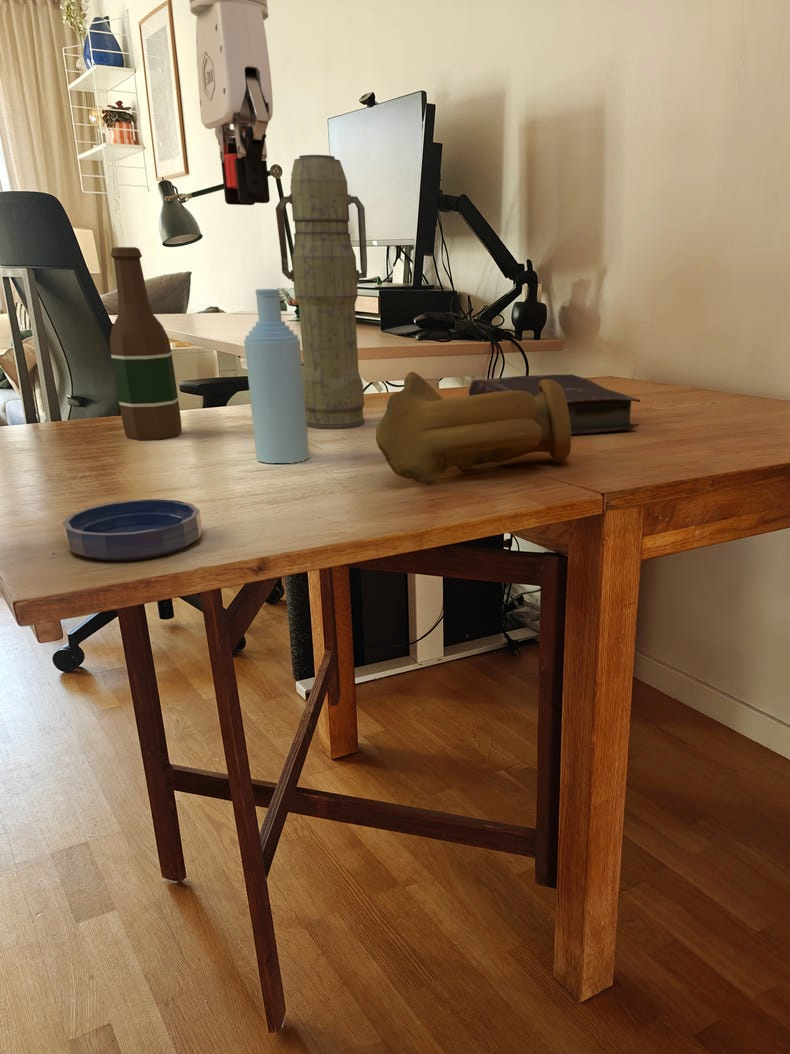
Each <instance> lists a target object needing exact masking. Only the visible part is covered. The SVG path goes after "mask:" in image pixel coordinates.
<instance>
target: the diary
mask: <svg viewBox="0 0 790 1054" xmlns="http://www.w3.org/2000/svg"><path fill="white" fill-rule="evenodd" d="M544 379H548V380H553V381H556V382H557V383H558V384H560V385H561V387H562V388H563V391H564V394H565V397H566V401H567V406H568V411H569V417H570V424H571V435H577V434H578V435H579V434H592V433H593V434H595V433H607V432H617V431H624V430H625V431H626V430H631V429H634V428H636V427H638V426H639V425H640V424H639V422H637V423H635V424H634V423H631V410H632V402H638V403H641V399H639V398H636V397H633V396H630V395H627V394H623V393H621V392H617V391H615V390H612V389H609V388H605V387H604V386H601V385H599V384H598V383H595V382H594V381H592V380H590V379H588V378H585V377H583V376H578V375H575V374H570V373H569V374H568V373H567V374H539V375H538V374H535V375H517V376H507V377H506V376H505V377H496V378H488V379H473V381H472V382H471V384H470V386H469V388H468V396H472V395H478V394H485V393H492V392H502V391H525V392H528V393H530V394H532V395H533V396H534V397H536V396H537V395H538V394H539V382H540V381H541V380H544Z"/></svg>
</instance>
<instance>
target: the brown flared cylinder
mask: <svg viewBox="0 0 790 1054" xmlns="http://www.w3.org/2000/svg"><path fill="white" fill-rule="evenodd" d="M403 383H404V386H403V388H402V389H401V390H400V391H396V392H393V393H391V394H390V396H389V398H388V400H387V403H386V411H385V413H384V415H383V417H382V418H381V420H379V421H380V422H379V423H378V424H377V426H376V428H375V433H376V434H375V441H376V444H377V448H378V449H379V450H380V451H381V453H382V454H383V457H384V458H385V460H386V462H387V463H388V465H389V467H390V469H391V470H392V471H393V473H394V474H395V475H397V476H399V477H401V478H404V479H407V480H410V479H412V480H413V481H414V482H417V483H419V484H423V485H424V484H425V485H427V484H432V483H434V482H436V481H437V480H438V479H439V478H440V476H441V475H442V474H443V473H445V471H447V470H448V469H449V468H451V467H457V468H458V469H459V470H460V471H466V470H469V469H471V468H473V467H477V466H479V465H480V466H481V465H484V464H485V465H486V464H497V463H503V462H506V461H509V460H512V459H516V458H518V457H522V456H524V455H528V454H532V453H540V452H541V453H548V454H549V456H550V458H551V459H552V461H553V463H555V464H560V463H562V462H564V461H565V460H566V459H567V458H568V457H569V456H570V453H571V449H572V445H571V444H572V443H571V437H572V434H571V424H570V417H569V411H568V406H567V401H566V397H565V394H564V391H563V388H562V387H561V385H560V384H558V383H557V382H556V381H553V380H548V379H544V380H541V381H540V382H539V394H538V395H537V396H536V397H534V396H533V395H532V394H530V393H528V392H525V391H502V392H492V393H485V394H478V395H472V396H469V395H465V396H460V397H452V398H446V399H444V398H443V397H442V396H441V394H439V393H438V392H437V391H436V390H435V389H434V388H433V387H432V386H431V385H430V384H429V382H427V381H426V379H424V377H422V376H421V375H420V374H418V373H417V372H415V371H410V372H409V373H408V374H407V375H406V376H405V377H404V381H403Z"/></svg>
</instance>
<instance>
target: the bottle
mask: <svg viewBox="0 0 790 1054" xmlns="http://www.w3.org/2000/svg"><path fill="white" fill-rule="evenodd" d="M280 292H281V291H280V289H279V288H257V289H255V292H254V294H255V296H256V306H257V307H256V308H257V316H258V317H257V318H258V321H256V322H255V325H254V326H252V330H249V331H248V334H247V335H245V339H244V341H243V345H244V353H245V354H244V355H245V362H246V371H247V382H248V392H249V400H250V401H249V402H250V409H251V419H252V428H253V436H254V438H253V439H254V447H255V454H256V455H255V456H256V461H257V460H258V461H261V462H268V463H290V462H298V461H303V460H306V459H308V458H309V459H310V449H309V436H308V435H309V433H308V426H307V422H306V409H305V397H304V385H303V376H304V372H303V360H302V351H301V350H302V348H301V339H299V336H298V334H296V333H295V332H294V330H293V329H290V325H286V321H284V320H283V319H282V309H281V298H280V296H281V293H280ZM309 459H308V460H309ZM258 461H257V462H258ZM306 461H307V460H306ZM261 462H260V463H261ZM303 462H304V461H303ZM298 463H299V462H298Z"/></svg>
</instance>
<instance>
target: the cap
mask: <svg viewBox="0 0 790 1054" xmlns="http://www.w3.org/2000/svg"><path fill="white" fill-rule="evenodd" d="M224 158H225V161H224V164H225V174H226V184H227V187H228V188H235V189H238V187H237V176H236V166H235V159H236V158H238V159H242V158H239V157H238V154H226V155H224Z"/></svg>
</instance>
